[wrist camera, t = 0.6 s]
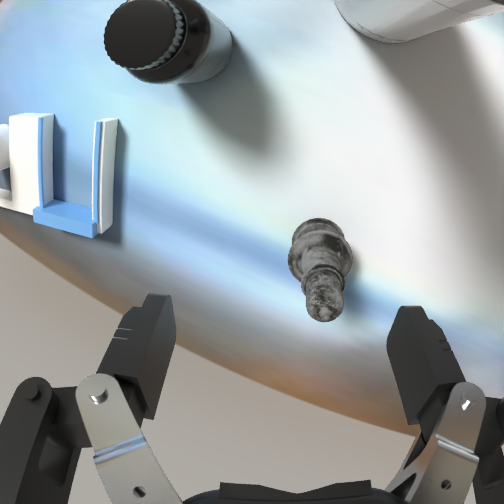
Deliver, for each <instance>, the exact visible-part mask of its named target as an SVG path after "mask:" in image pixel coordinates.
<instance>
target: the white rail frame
mask: <svg viewBox="0 0 504 504" xmlns="http://www.w3.org/2000/svg"><path fill="white" fill-rule="evenodd" d="M53 124H54V114H47V113H21V114H17V115H13V116H9V157H10V177H11V191H9V190H5V189H0V206H1V207H4V208H8V209H12V210H15V211H19V212H22V213H26V214H30V215H33V219H34V222H36V223H39V224H43V225H46V226H50V227H53V228H57V229H61V230H64V231H68V232H71V233H75V234H79V235H82V236H86V237H90V238H93V237H95V236H96V235H97V234H98V233H101V234H102V233H103V232H104V231H105V230H107V229H108V228H109V227H110V226H111V225H112V224H113V185H114V164H115V149H116V136H117V125H118V119H117V118H105V119H101V120H97V121H95V128H94V143H93V165H92V208H90V207H86V206H81V205H77V204H72V203H68V202H64V201H59V200H55V199H54V195H53Z"/></svg>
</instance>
